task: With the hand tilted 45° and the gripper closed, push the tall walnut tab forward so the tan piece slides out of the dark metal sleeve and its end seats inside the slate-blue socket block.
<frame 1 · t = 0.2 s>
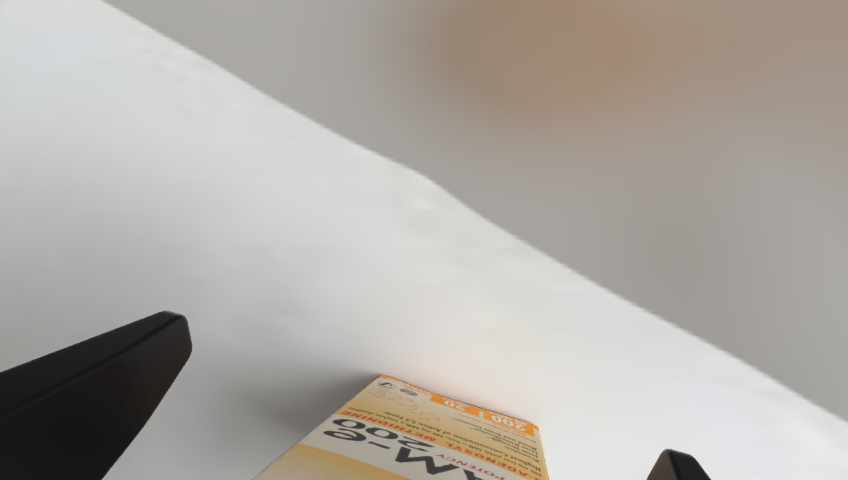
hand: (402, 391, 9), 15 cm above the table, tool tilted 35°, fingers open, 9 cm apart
supplement box: (445, 439, 23), on the table
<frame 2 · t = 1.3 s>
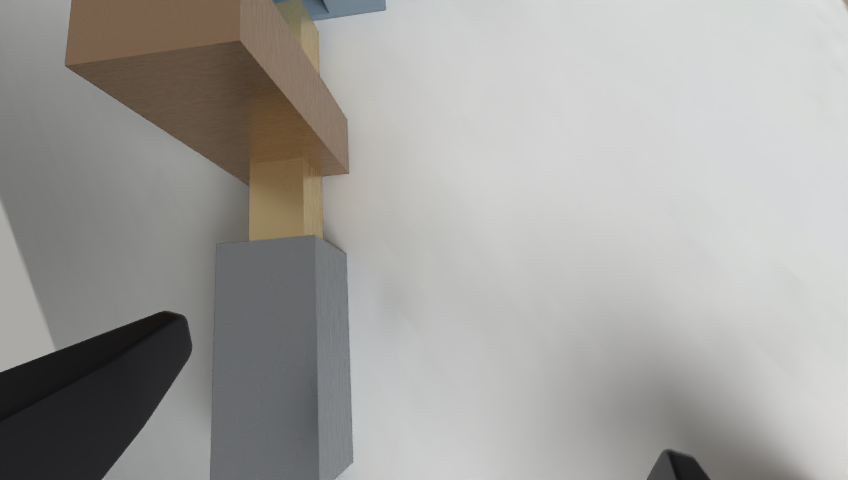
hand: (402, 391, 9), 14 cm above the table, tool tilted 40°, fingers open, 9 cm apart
outer sleeve: (305, 257, 24), on the table
tan piece: (244, 174, 19), point 6 cm above the table, slide at 0.0 cm
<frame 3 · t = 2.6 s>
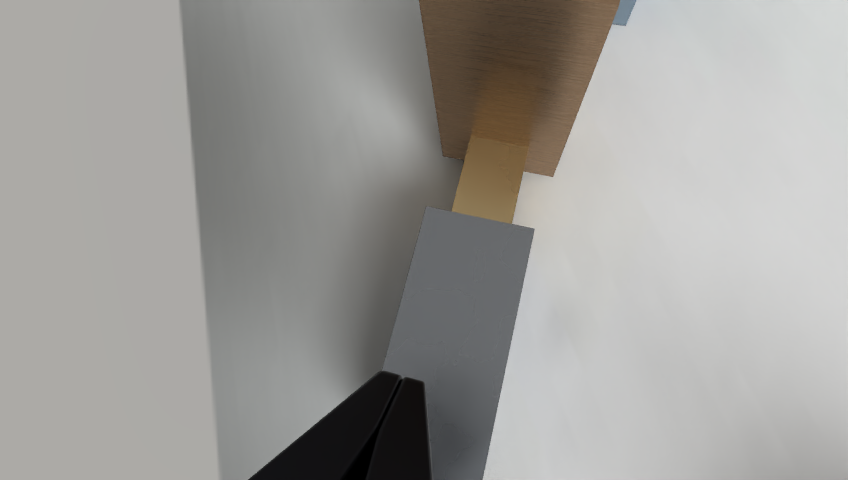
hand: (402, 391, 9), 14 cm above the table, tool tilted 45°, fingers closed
outer sleeve: (478, 246, 23), on the table
tan piece: (493, 145, 18), point 6 cm above the table, slide at 0.0 cm
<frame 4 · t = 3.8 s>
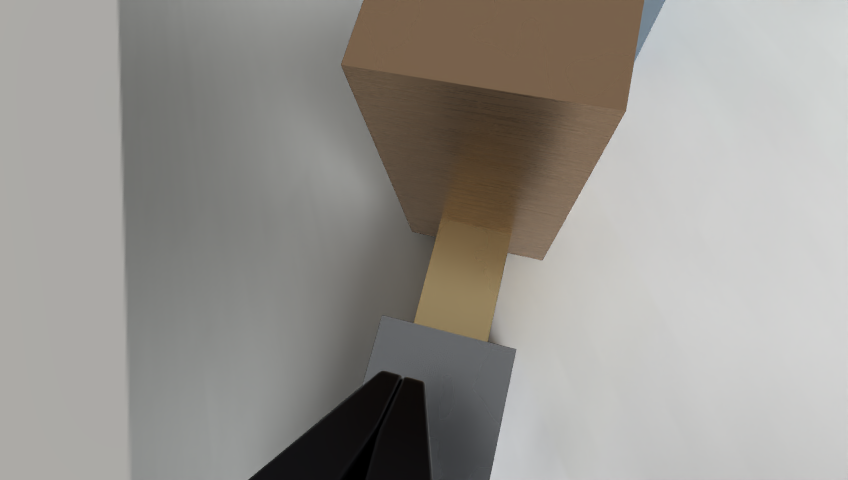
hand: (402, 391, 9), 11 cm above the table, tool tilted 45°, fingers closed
outer sleeve: (453, 342, 19), on the table
tan piece: (462, 250, 14), point 6 cm above the table, slide at 0.0 cm
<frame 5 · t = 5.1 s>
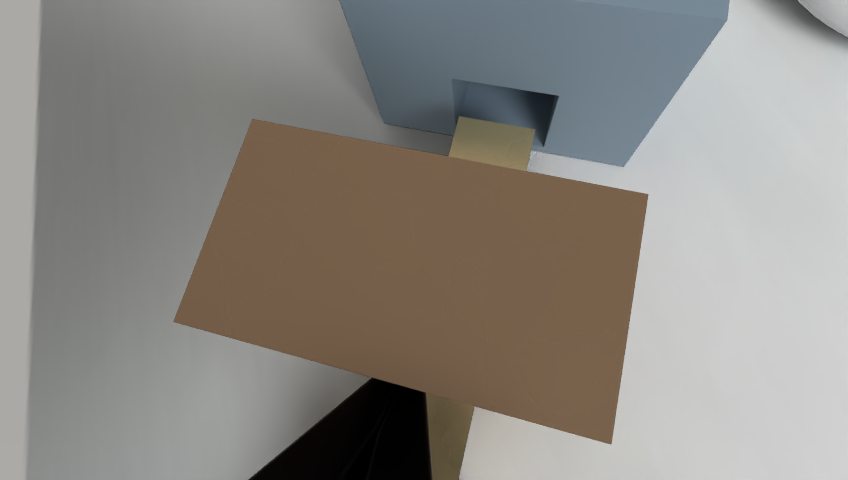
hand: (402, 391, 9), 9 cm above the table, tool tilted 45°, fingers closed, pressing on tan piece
slate socket: (522, 13, 16), on the table
tan piece: (403, 456, 10), point 6 cm above the table, slide at 0.5 cm, touching gripper
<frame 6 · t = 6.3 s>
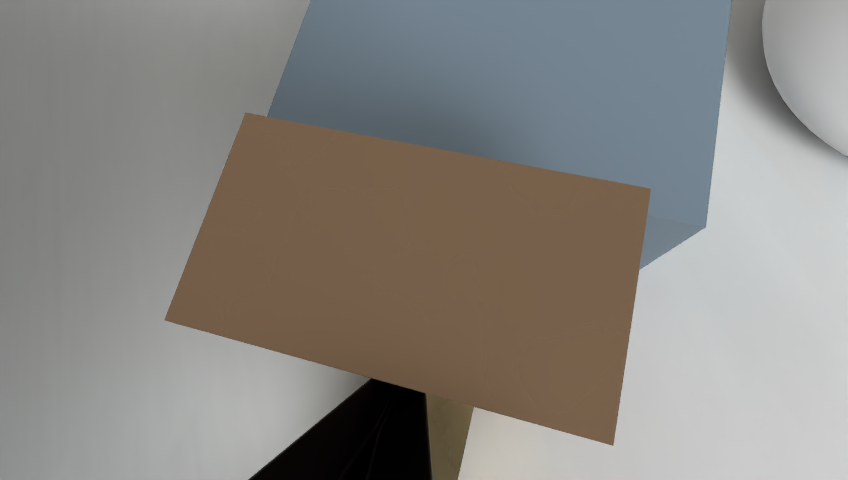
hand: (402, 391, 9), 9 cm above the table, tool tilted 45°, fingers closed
slate socket: (488, 143, 15), on the table
tan piece: (402, 456, 10), point 6 cm above the table, slide at 5.7 cm
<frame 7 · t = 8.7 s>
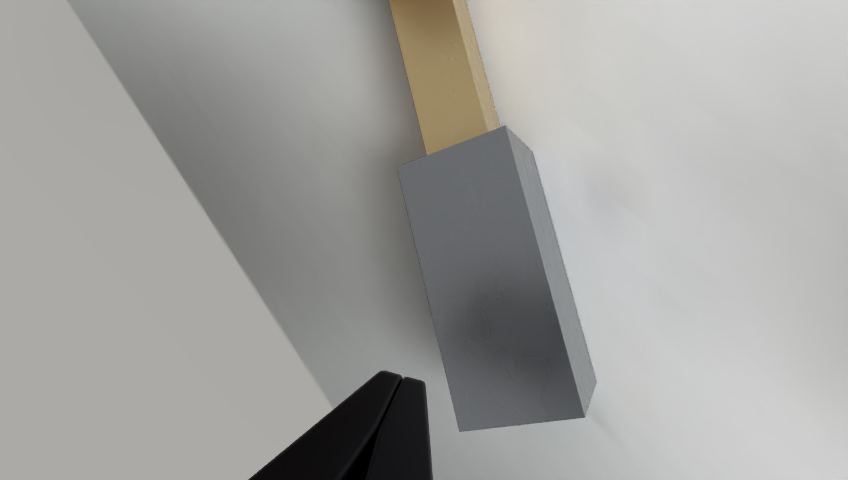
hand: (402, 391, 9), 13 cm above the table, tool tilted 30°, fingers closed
outer sleeve: (485, 168, 21), on the table
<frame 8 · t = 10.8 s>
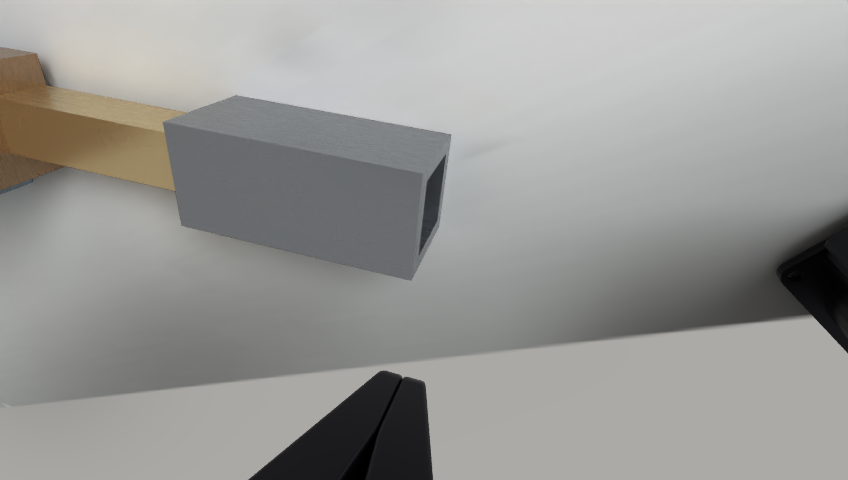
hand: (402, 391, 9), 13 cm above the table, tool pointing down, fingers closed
outer sleeve: (240, 142, 22), on the table
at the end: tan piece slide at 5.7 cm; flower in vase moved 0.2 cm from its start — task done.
